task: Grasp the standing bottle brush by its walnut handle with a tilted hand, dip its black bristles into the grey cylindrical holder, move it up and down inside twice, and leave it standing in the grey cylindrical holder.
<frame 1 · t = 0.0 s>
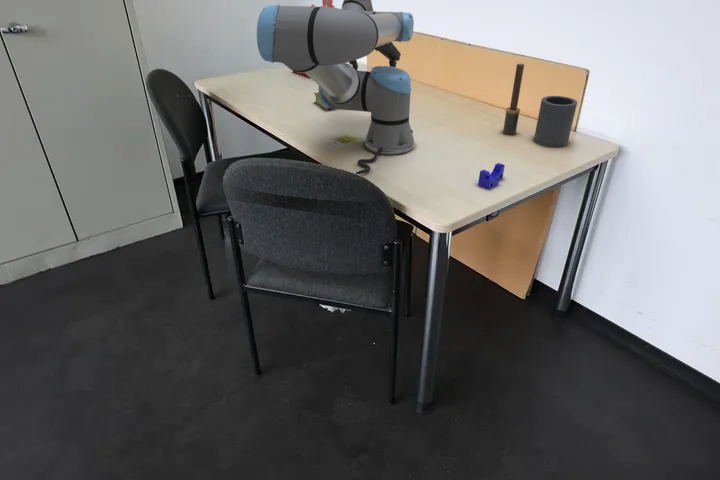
hand: (374, 71, 170), 15 cm above the table, tool tilted 35°, fingers open, 13 cm apart
figurine: (332, 79, 220), on the table
hardcover book: (345, 103, 190), on the table
cable holder: (492, 183, 129), on the table
brush: (509, 132, 160), on the table
grey cylindrical holder: (550, 141, 154), on the table
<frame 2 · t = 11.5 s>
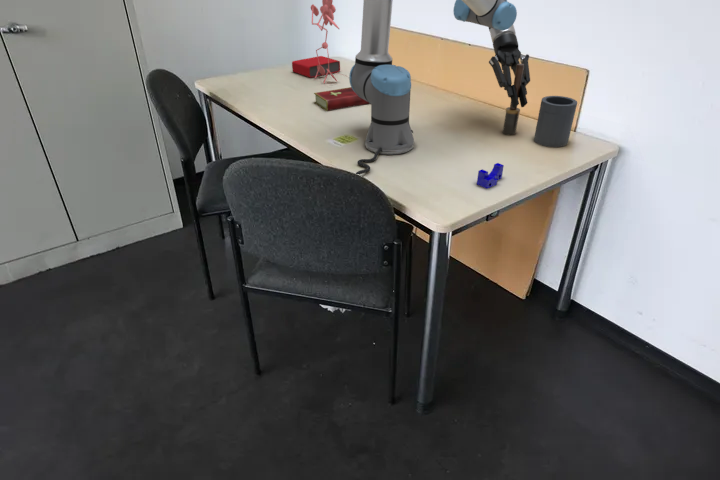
hand: (520, 105, 151), 10 cm above the table, tool tilted 45°, fingers closed on brush, 2 cm apart
brush: (509, 132, 160), on the table, touching gripper
everything else where it was.
when the fingers open (16 cm above the table, at t = 29.5 s): brush drops 4 cm, resting on grey cylindrical holder.
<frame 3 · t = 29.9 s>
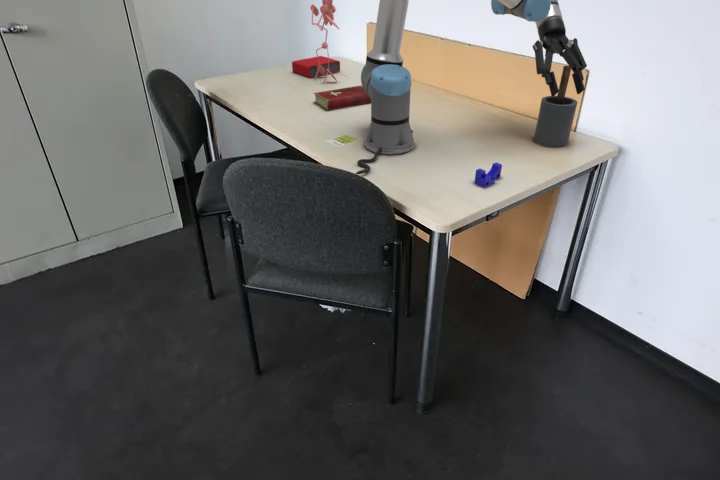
hand: (568, 92, 142), 16 cm above the table, tool tilted 45°, fingers open, 8 cm apart
brush: (551, 138, 153), point 1 cm above the table, touching grey cylindrical holder
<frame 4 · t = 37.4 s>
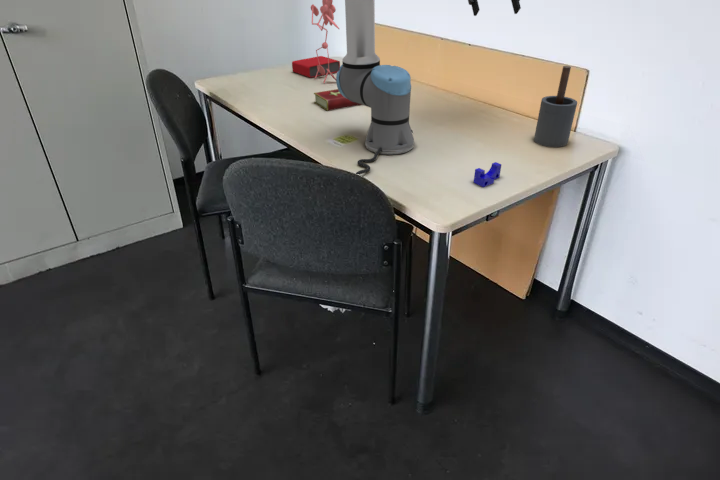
hand: (497, 12, 148), 36 cm above the table, tool tilted 45°, fingers open, 13 cm apart
at the end: brush 0.1 cm off-centre in the grey cylindrical holder, point 1.0 cm above the grey cylindrical holder's base; the gripper is holding nothing; brush tilted 0° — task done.
